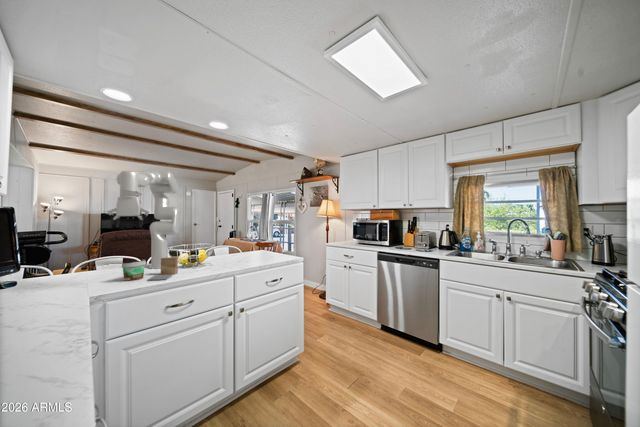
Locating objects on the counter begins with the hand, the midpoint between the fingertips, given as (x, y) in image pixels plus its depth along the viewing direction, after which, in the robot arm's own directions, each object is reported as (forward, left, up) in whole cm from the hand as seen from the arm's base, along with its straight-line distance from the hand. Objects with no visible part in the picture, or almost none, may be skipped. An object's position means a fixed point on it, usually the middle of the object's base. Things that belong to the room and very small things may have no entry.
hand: (128, 227), depth 123 cm
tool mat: (-8, +12, -30) cm, 33 cm away
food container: (-9, 0, -30) cm, 31 cm away
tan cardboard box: (-18, +13, -30) cm, 37 cm away
